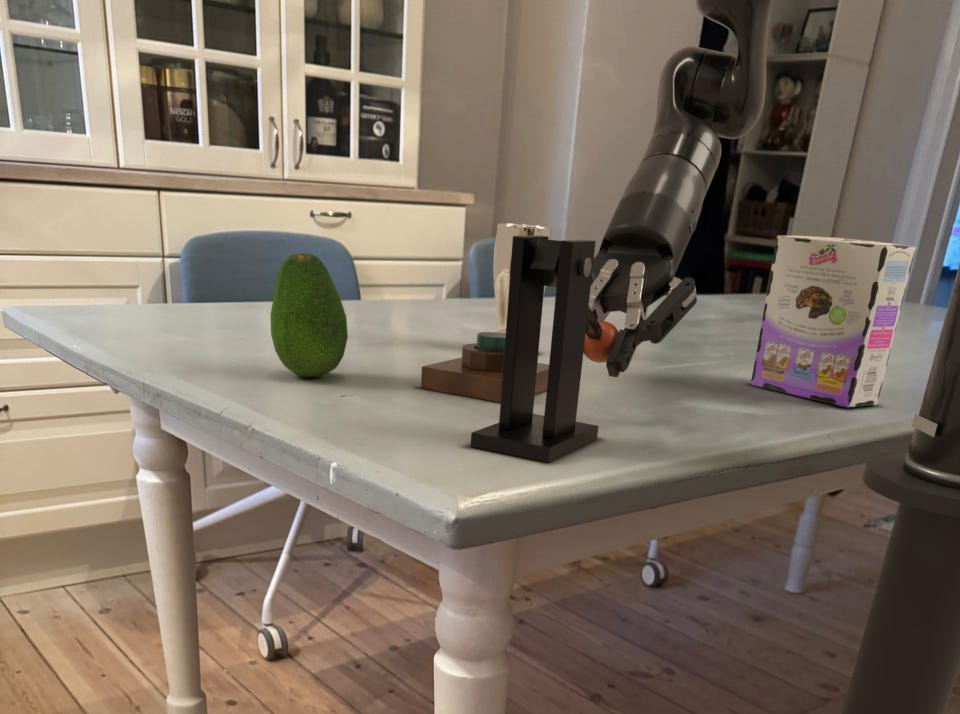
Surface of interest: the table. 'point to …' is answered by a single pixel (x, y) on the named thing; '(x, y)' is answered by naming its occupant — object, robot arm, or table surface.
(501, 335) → the button
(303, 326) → the avocado
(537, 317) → the bracket
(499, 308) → the beer glass
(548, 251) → the lever
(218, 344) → the table surface
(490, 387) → the button block
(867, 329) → the candy box
